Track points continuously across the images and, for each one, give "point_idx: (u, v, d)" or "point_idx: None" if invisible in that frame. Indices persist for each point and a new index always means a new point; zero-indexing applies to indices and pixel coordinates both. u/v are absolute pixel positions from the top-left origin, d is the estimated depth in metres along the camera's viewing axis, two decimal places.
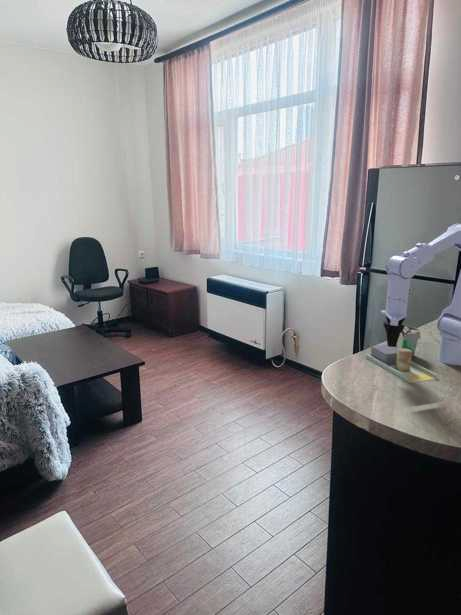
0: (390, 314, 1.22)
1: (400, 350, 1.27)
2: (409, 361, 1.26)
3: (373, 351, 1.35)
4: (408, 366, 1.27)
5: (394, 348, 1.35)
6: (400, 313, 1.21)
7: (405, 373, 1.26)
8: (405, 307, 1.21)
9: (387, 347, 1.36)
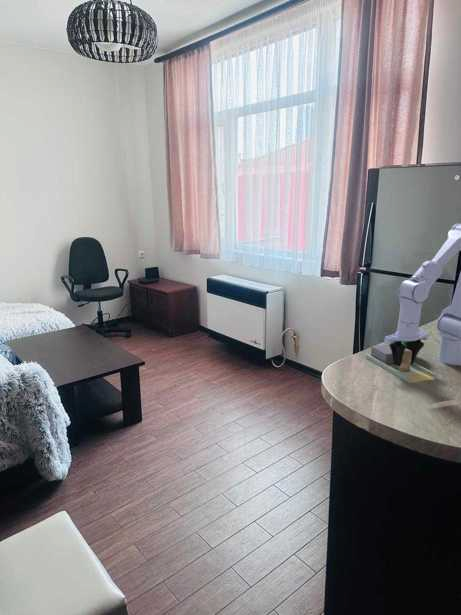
0: (396, 334, 1.26)
1: None
2: (409, 361, 1.26)
3: (373, 351, 1.35)
4: (408, 366, 1.27)
5: None
6: (403, 336, 1.24)
7: (405, 373, 1.26)
8: (409, 331, 1.23)
9: (387, 347, 1.36)
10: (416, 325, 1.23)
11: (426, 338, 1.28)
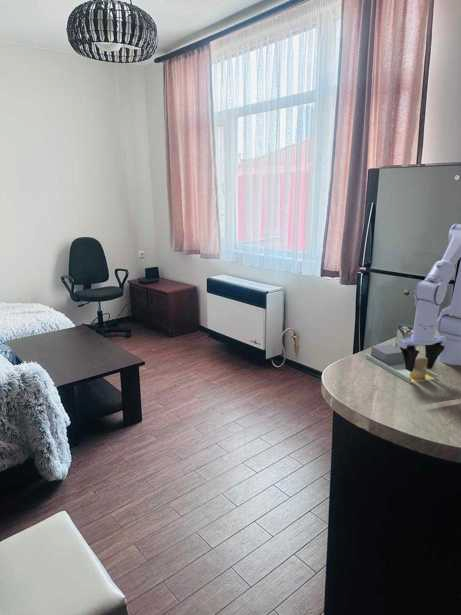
0: (412, 338, 1.20)
1: None
2: (425, 369, 1.21)
3: (373, 351, 1.35)
4: (423, 374, 1.21)
5: (394, 348, 1.35)
6: (419, 339, 1.18)
7: (405, 373, 1.26)
8: (426, 334, 1.17)
9: (387, 347, 1.36)
10: (433, 328, 1.17)
11: (443, 342, 1.22)
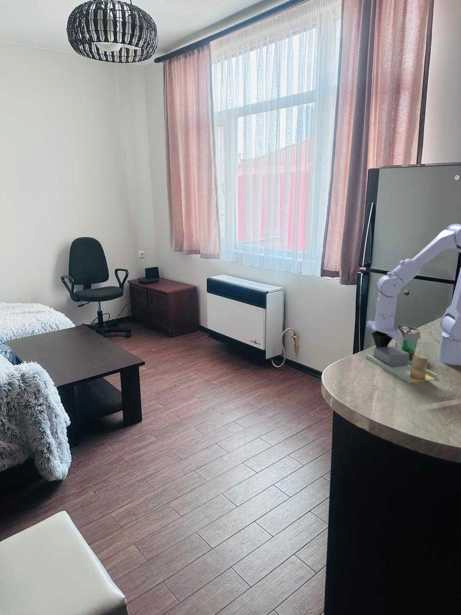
0: (385, 330, 1.33)
1: (415, 357, 1.22)
2: (425, 369, 1.21)
3: (376, 352, 1.34)
4: (424, 374, 1.21)
5: (397, 349, 1.34)
6: (392, 328, 1.34)
7: (405, 373, 1.26)
8: None
9: (390, 348, 1.35)
10: None
11: None
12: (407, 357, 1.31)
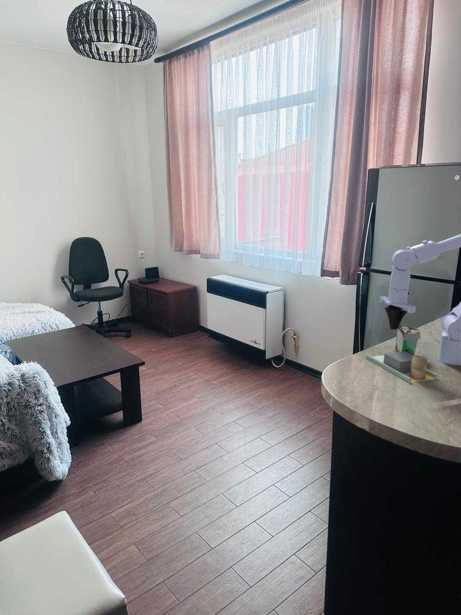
0: (399, 304, 1.33)
1: (415, 357, 1.22)
2: (425, 369, 1.21)
3: (386, 358, 1.30)
4: (424, 374, 1.21)
5: (408, 355, 1.29)
6: (406, 302, 1.34)
7: None
8: None
9: (400, 354, 1.30)
10: None
11: None
12: None
